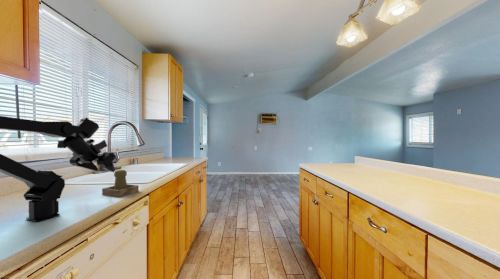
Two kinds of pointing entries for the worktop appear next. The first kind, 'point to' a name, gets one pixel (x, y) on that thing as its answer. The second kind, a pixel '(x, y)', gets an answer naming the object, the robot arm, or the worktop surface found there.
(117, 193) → the slot holder
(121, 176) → the cork
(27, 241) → the worktop surface
